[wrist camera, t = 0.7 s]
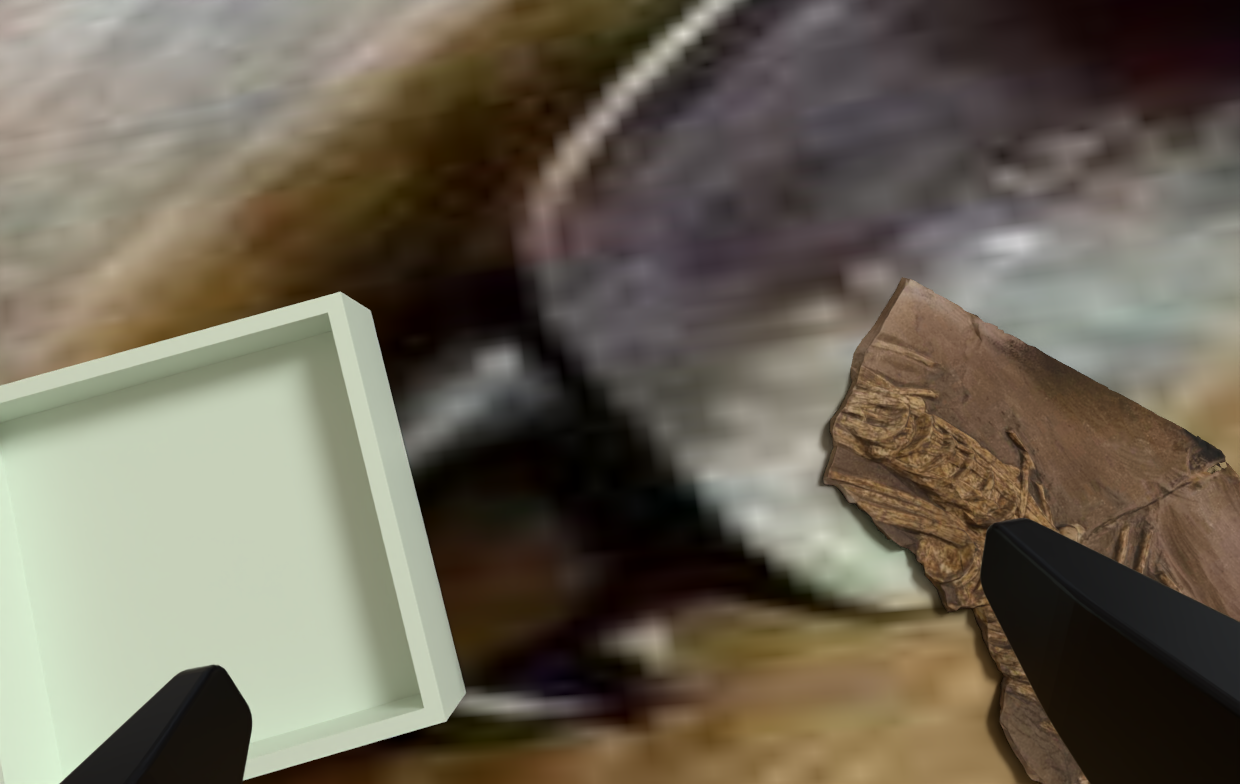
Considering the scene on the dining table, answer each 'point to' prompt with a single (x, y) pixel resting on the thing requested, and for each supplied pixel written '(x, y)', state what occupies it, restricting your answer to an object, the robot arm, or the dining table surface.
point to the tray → (217, 544)
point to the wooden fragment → (1022, 477)
